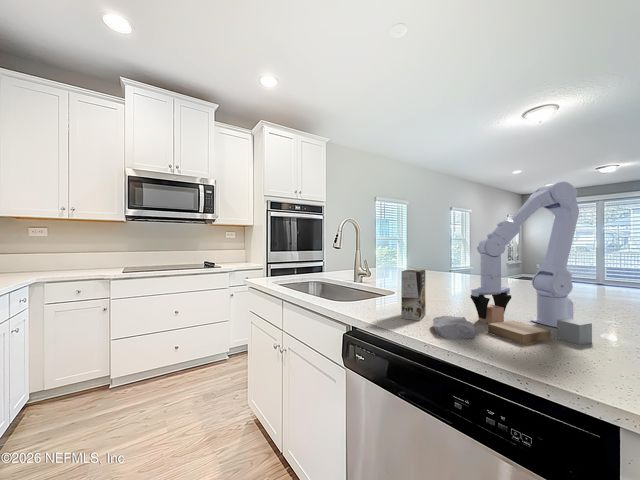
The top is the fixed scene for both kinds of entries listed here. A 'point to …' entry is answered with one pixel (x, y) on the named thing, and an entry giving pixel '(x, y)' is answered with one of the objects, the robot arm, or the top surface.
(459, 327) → the stone block
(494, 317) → the terracotta cube
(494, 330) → the walnut block
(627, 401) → the top surface
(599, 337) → the top surface
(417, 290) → the coffee box
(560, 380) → the top surface
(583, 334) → the slate grey cube
